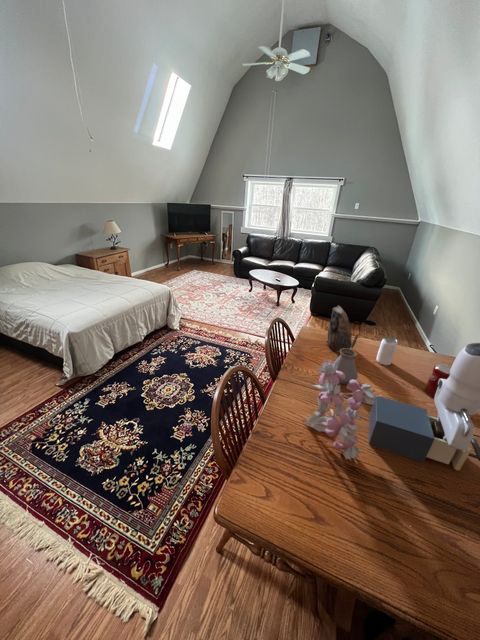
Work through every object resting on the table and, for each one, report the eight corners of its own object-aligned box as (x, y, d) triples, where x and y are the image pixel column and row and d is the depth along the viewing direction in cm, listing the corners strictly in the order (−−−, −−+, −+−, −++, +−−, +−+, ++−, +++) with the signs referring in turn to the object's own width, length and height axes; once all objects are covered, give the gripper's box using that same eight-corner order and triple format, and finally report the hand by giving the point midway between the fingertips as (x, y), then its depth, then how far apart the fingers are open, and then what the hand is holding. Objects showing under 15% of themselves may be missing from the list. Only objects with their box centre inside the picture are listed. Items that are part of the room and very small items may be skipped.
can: (373, 361, 126) (380, 338, 121) (379, 356, 130) (386, 334, 125) (387, 367, 122) (394, 344, 117) (393, 362, 125) (400, 340, 120)
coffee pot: (352, 391, 105) (361, 358, 99) (323, 380, 111) (330, 348, 105) (363, 366, 122) (372, 337, 115) (338, 357, 127) (344, 329, 121)
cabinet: (416, 431, 88) (426, 409, 84) (423, 462, 77) (434, 438, 73) (368, 416, 93) (375, 395, 89) (368, 444, 82) (376, 420, 78)
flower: (282, 457, 75) (340, 407, 62) (283, 397, 94) (327, 350, 82) (342, 485, 77) (409, 442, 65) (330, 421, 97) (380, 378, 84)
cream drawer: (468, 446, 82) (478, 427, 79) (481, 478, 73) (493, 458, 70) (400, 425, 89) (408, 407, 86) (404, 452, 79) (412, 433, 76)
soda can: (421, 392, 106) (432, 367, 101) (427, 385, 111) (437, 361, 106) (443, 402, 101) (455, 377, 96) (448, 394, 106) (460, 369, 101)
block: (446, 436, 80) (452, 425, 78) (450, 448, 77) (456, 436, 75) (428, 431, 82) (434, 419, 80) (431, 442, 78) (437, 430, 76)
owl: (333, 353, 131) (342, 316, 122) (316, 341, 141) (323, 306, 133) (352, 348, 136) (361, 312, 128) (334, 337, 146) (341, 303, 138)
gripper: (488, 429, 63) (465, 469, 69) (462, 381, 80) (446, 416, 86) (456, 420, 65) (436, 459, 71) (438, 375, 82) (423, 409, 88)
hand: (441, 435), depth 79 cm, fingers closed on block, 4 cm apart
